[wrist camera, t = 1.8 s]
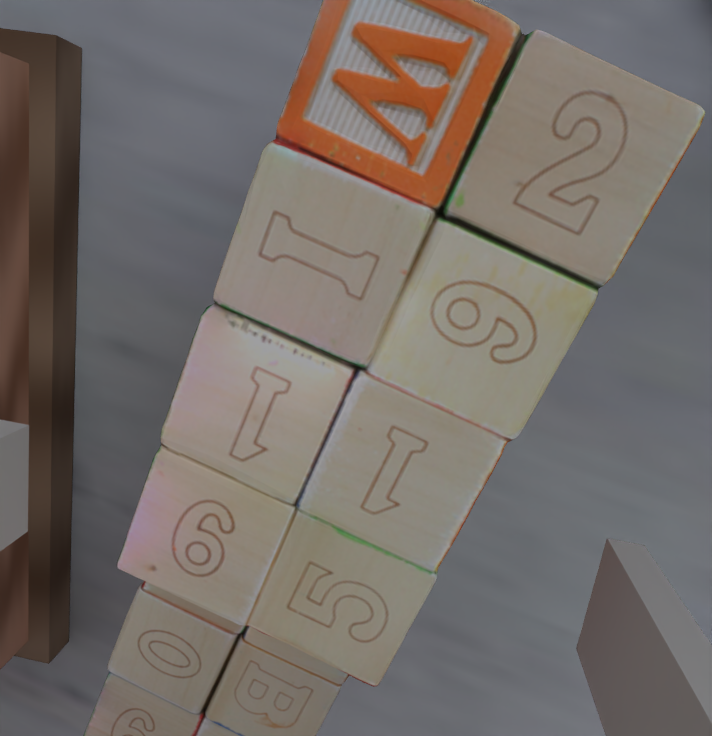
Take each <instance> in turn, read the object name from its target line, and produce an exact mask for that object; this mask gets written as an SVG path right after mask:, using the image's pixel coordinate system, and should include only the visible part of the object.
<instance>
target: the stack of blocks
mask: <svg viewBox="0 0 712 736" xmlns="http://www.w3.org/2000/svg"><path fill="white" fill-rule="evenodd" d="M704 115H705V111H704V110H703V109H702V107H701V106H700V105H698V104H696V103H694V102H691V101H689V100H687V99H685V98H682V97H680V96H678V95H676V94H674V93H671V92H669V91H667V90H665V89H663V88H661V87H659V86H656V85H654V84H652V83H650V82H648V81H646V80H644V79H642V78H640V77H637V76H635V75H633V74H631V73H629V72H627V71H625V70H623V69H621V68H618V67H616V66H614V65H612V64H610V63H608V62H606V61H604V60H601V59H599V58H597V57H595V56H593V55H591V54H589V53H587V52H585V51H583V50H581V49H579V48H577V47H575V46H573V45H571V44H569V43H567V42H565V41H562V40H560V39H558V38H556V37H554V36H552V35H550V34H548V33H546V32H544V31H540V30H535V31H533V32H531V33H529V34H527V35H524V34H522V33H521V30H520V26H519V25H518V24H517V23H515V22H514V21H512V20H511V19H509V18H508V17H506V16H504V15H502V14H501V13H499V12H497V11H495V10H493V9H491V8H488V7H486V6H484V5H482V4H479V3H477V2H475V1H473V0H323V2H322V5H321V8H320V11H319V13H318V16H317V19H316V22H315V24H314V27H313V30H312V33H311V36H310V38H309V41H308V44H307V47H306V49H305V52H304V54H303V57H302V59H301V62H300V65H299V67H298V70H297V72H296V75H295V79H294V81H293V84H292V87H291V89H290V92H289V95H288V97H287V100H286V103H285V105H284V108H283V110H282V113H281V116H280V118H279V121H278V125H277V132H276V139H275V140H273V141H271V142H270V143H268V144H267V145H266V147H265V148H264V149H263V151H262V154H261V157H260V160H259V163H258V166H257V169H256V172H255V174H254V177H253V180H252V182H251V185H250V188H249V191H248V193H247V197H246V200H245V203H244V206H243V209H242V212H241V214H240V217H239V220H238V223H237V226H236V228H235V231H234V234H233V237H232V240H231V243H230V245H229V248H228V251H227V254H226V257H225V260H224V263H223V266H222V269H221V272H220V275H219V278H218V281H217V284H216V287H215V290H214V296H213V299H214V302H215V303H214V304H212V305H210V306H208V307H207V308H206V310H205V311H204V312H203V314H202V315H201V317H200V321H199V324H198V327H197V329H196V332H195V334H194V337H193V340H192V343H191V346H190V350H189V353H188V356H187V359H186V362H185V364H184V367H183V370H182V373H181V375H180V378H179V381H178V384H177V387H176V390H175V393H174V396H173V399H172V402H171V405H170V407H169V410H168V413H167V416H166V419H165V422H164V424H163V427H162V431H161V436H160V437H161V447H160V448H159V450H158V452H157V453H156V455H155V457H154V458H153V461H152V464H151V467H150V470H149V473H148V476H147V479H146V481H145V484H144V487H143V490H142V493H141V496H140V499H139V502H138V505H137V507H136V510H135V513H134V516H133V519H132V521H131V524H130V527H129V530H128V533H127V536H126V539H125V542H124V545H123V548H122V551H121V554H120V556H119V559H118V561H117V568H118V569H120V570H122V571H124V572H126V573H129V574H131V575H133V576H135V577H137V578H139V579H141V580H144V581H143V582H142V584H141V585H140V586H139V587H138V590H137V592H136V595H135V597H134V599H133V602H132V604H131V607H130V609H129V611H128V614H127V616H126V618H125V621H124V623H123V626H122V628H121V631H120V634H119V636H118V639H117V641H116V644H115V647H114V649H113V652H112V654H111V657H110V660H109V662H108V665H107V669H108V671H109V674H108V676H107V679H106V681H105V683H104V685H103V688H102V690H101V693H100V695H99V698H98V700H97V703H96V705H95V708H94V710H93V713H92V715H91V718H90V720H89V723H88V725H87V728H86V730H85V733H84V735H83V736H316V734H317V732H318V730H319V729H320V727H321V725H322V723H323V721H324V719H325V717H326V715H327V713H328V711H329V710H330V708H331V706H332V704H333V702H334V700H335V699H336V697H337V695H338V693H339V691H340V688H341V686H342V684H343V683H344V682H345V681H346V679H347V678H348V676H349V675H350V676H352V677H354V678H356V679H358V680H360V681H362V682H364V683H366V684H369V685H371V686H373V687H374V686H378V685H379V683H380V682H381V680H382V678H383V676H384V675H385V673H386V671H387V669H388V667H389V665H390V664H391V662H392V660H393V658H394V656H395V654H396V652H397V651H398V649H399V647H400V645H401V643H402V642H403V640H404V638H405V636H406V634H407V632H408V630H409V629H410V627H411V625H412V623H413V621H414V620H415V618H416V616H417V614H418V613H419V611H420V609H421V607H422V605H423V603H424V602H425V600H426V598H427V596H428V594H429V593H430V591H431V589H432V587H433V585H434V584H435V582H436V580H437V573H438V567H439V566H440V564H441V562H442V561H443V559H444V557H445V556H446V554H447V552H448V551H449V549H450V547H451V546H452V544H453V542H454V540H455V539H456V537H457V535H458V533H459V531H460V530H461V528H462V526H463V524H464V522H465V520H466V519H467V517H468V515H469V513H470V511H471V509H472V507H473V505H474V503H475V501H476V500H477V498H478V496H479V495H480V493H481V491H482V490H483V488H484V486H485V484H486V483H487V481H488V479H489V477H490V475H491V474H492V472H493V470H494V468H495V466H496V464H497V462H498V461H499V459H500V457H501V455H502V452H503V450H504V447H505V445H506V444H507V442H509V441H511V440H513V439H515V438H517V437H518V436H519V434H520V433H521V431H522V430H523V428H524V426H525V425H526V423H527V421H528V419H529V418H530V416H531V414H532V412H533V411H534V409H535V407H536V405H537V404H538V402H539V400H540V398H541V397H542V395H543V393H544V391H545V390H546V388H547V386H548V384H549V382H550V381H551V379H552V377H553V375H554V373H555V372H556V370H557V368H558V366H559V365H560V363H561V361H562V359H563V358H564V356H565V354H566V352H567V351H568V349H569V347H570V345H571V344H572V342H573V340H574V338H575V337H576V335H577V333H578V331H579V330H580V328H581V326H582V324H583V323H584V321H585V319H586V317H587V316H588V314H589V312H590V311H591V309H592V307H593V305H594V303H595V300H596V298H597V294H598V288H600V287H602V286H603V285H605V284H606V283H607V282H608V281H609V280H610V279H611V278H612V277H613V276H614V274H615V272H616V270H617V269H618V267H619V265H620V263H621V261H622V260H623V258H624V256H625V254H626V253H627V251H628V249H629V248H630V246H631V244H632V243H633V241H634V239H635V238H636V236H637V234H638V232H639V231H640V229H641V227H642V226H643V224H644V222H645V221H646V219H647V217H648V216H649V214H650V212H651V210H652V209H653V207H654V205H655V204H656V202H657V200H658V199H659V197H660V195H661V193H662V192H663V190H664V188H665V187H666V185H667V183H668V181H669V180H670V178H671V176H672V175H673V173H674V171H675V170H676V168H677V166H678V164H679V163H680V161H681V159H682V157H683V156H684V154H685V152H686V151H687V149H688V147H689V145H690V144H691V142H692V140H693V138H694V137H695V135H696V133H697V132H698V130H699V128H700V125H701V123H702V120H703V118H704Z"/></svg>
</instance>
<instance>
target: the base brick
mask: <svg viewBox="0 0 712 736" xmlns="http://www.w3.org/2000/svg"><path fill="white" fill-rule="evenodd" d="M81 62H82V48H81V47H79V46H77V45H75V44H73V43H71V42H69V41H67V40H65V39H63V38H61V37H58V36H56V35H49V34H41V33H34V32H26V31H18V30H10V29H2V28H0V420H5V421H11V422H16V423H21V424H26V425H29V473H28V532H26V533H25V534H23V535H22V536H21V537H19V538H18V539H17V540H15V541H14V542H12V543H11V544H10V545H8V546H7V547H6V548H4V549H3V550H2V551H0V669H1V668H2V667H3V666H4V665H5V664H6V663H7V662H8V661H9V660H10V659H11V658H12V657H13V656H18V657H22V658H26V659H31V660H35V661H39V662H43V663H48V664H49V663H50V662H51V661H52V660H53V658H54V657H55V656H56V655H57V654H58V653H59V652H60V651H61V649H62V648H63V647H64V646H65V645H66V644H67V643H68V641H69V606H70V561H71V515H72V470H73V425H74V379H75V334H76V289H77V244H78V198H79V153H80V108H81Z"/></svg>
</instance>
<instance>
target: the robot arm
mask: <svg viewBox="0 0 712 736" xmlns="http://www.w3.org/2000/svg"><path fill="white" fill-rule="evenodd" d="M28 473H29V425H26V424H21V423H16V422H11V421H5V420H0V551H2V550H3V549H4V548H6V547H7V546H8V545H10V544H11V543H12V542H14V541H15V540H17V539H18V538H19V537H21V536H22V535H23V534H25V533H26V532H28ZM576 649H577V652H578V655H579V658H580V661H581V664H582V667H583V670H584V673H585V676H586V679H587V682H588V684H589V687H590V690H591V693H592V696H593V699H594V702H595V705H596V708H597V711H598V714H599V717H600V720H601V723H602V726H603V729H604V732H605V735H606V736H712V645H711V644H710V642H709V641H708V639H707V638H706V636H705V635H704V633H703V632H702V630H701V629H700V627H699V626H698V624H697V623H696V621H695V620H694V618H693V617H692V615H691V614H690V612H689V611H688V609H687V608H686V606H685V605H684V603H683V602H682V601H681V599H680V598H679V596H678V595H677V593H676V592H675V590H674V589H673V587H672V586H671V584H670V583H669V581H668V580H667V578H666V577H665V575H664V574H663V572H662V571H661V569H660V568H659V566H658V565H657V563H656V562H655V560H654V559H653V557H652V556H651V554H650V553H649V551H648V550H647V548H646V547H645V545H640V544H635V543H630V542H625V541H620V540H615V539H609V538H607V540H606V544H605V548H604V551H603V555H602V558H601V562H600V566H599V569H598V573H597V576H596V580H595V583H594V587H593V591H592V594H591V598H590V601H589V605H588V608H587V612H586V616H585V619H584V623H583V626H582V630H581V634H580V637H579V641H578V644H577V648H576Z"/></svg>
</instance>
